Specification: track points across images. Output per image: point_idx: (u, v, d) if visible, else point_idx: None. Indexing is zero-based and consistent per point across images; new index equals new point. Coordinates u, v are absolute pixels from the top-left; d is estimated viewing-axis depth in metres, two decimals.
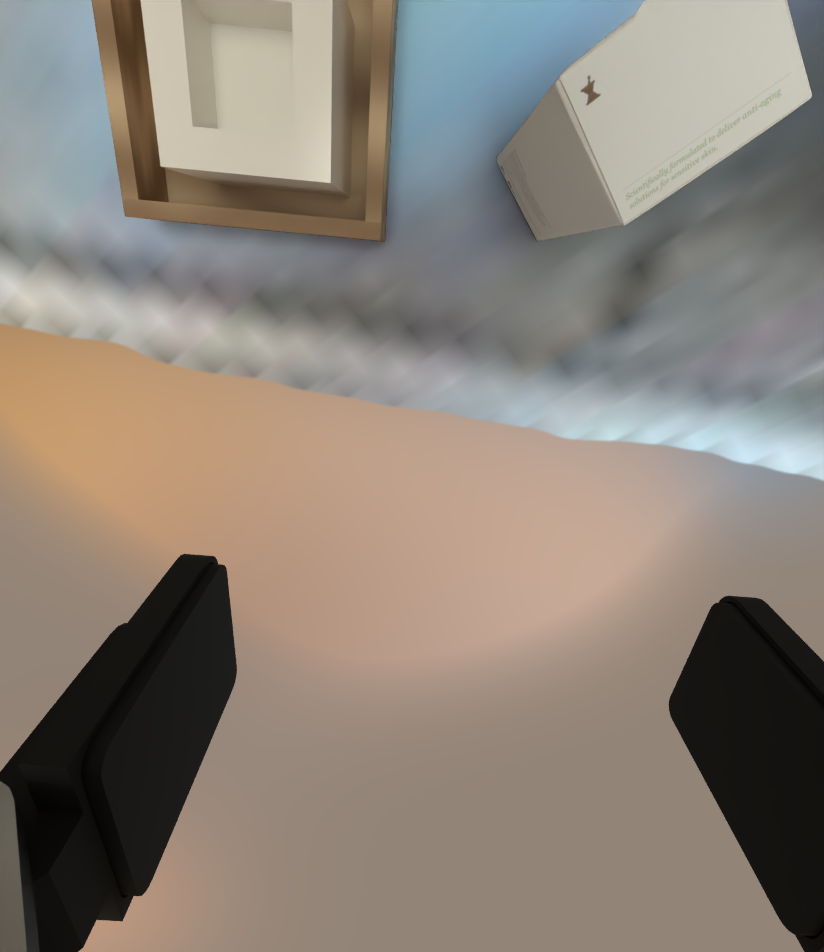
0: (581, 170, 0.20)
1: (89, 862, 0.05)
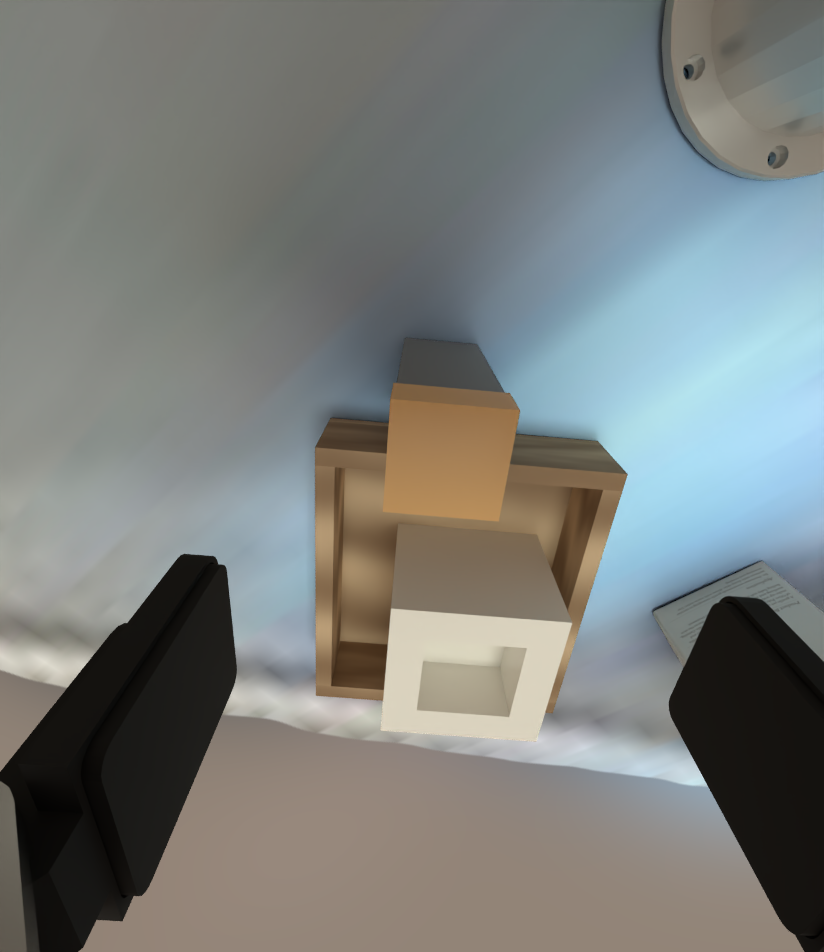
0: None
1: (89, 862, 0.05)
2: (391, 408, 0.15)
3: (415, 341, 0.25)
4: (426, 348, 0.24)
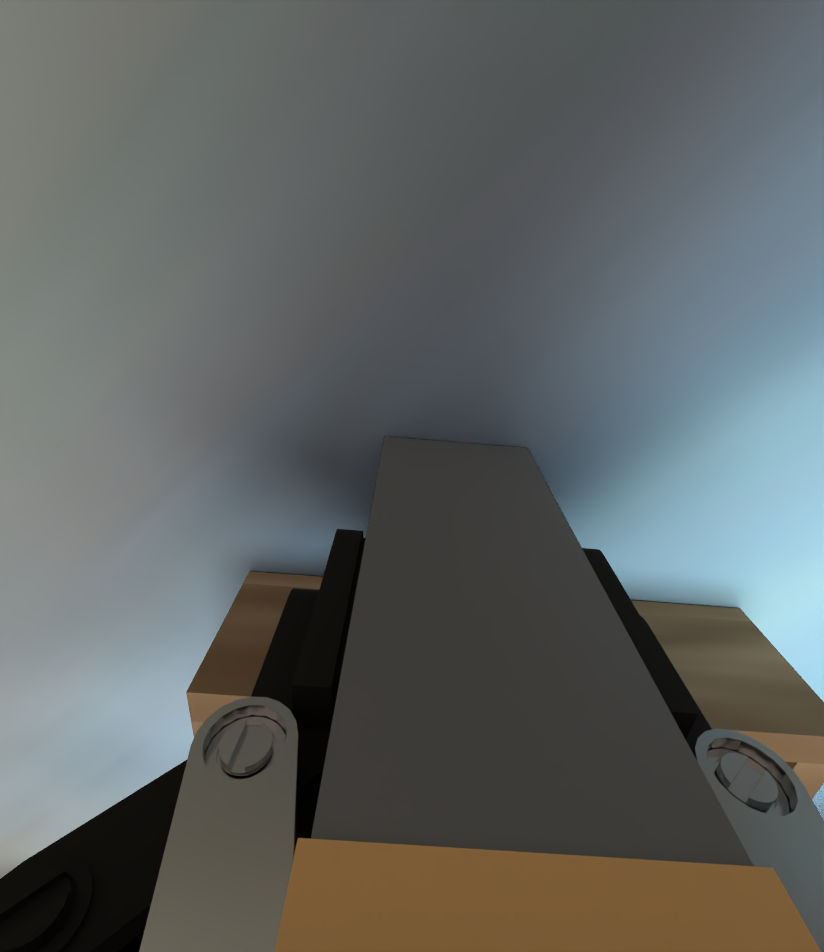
0: None
1: None
2: None
3: (405, 450, 0.12)
4: (428, 479, 0.11)
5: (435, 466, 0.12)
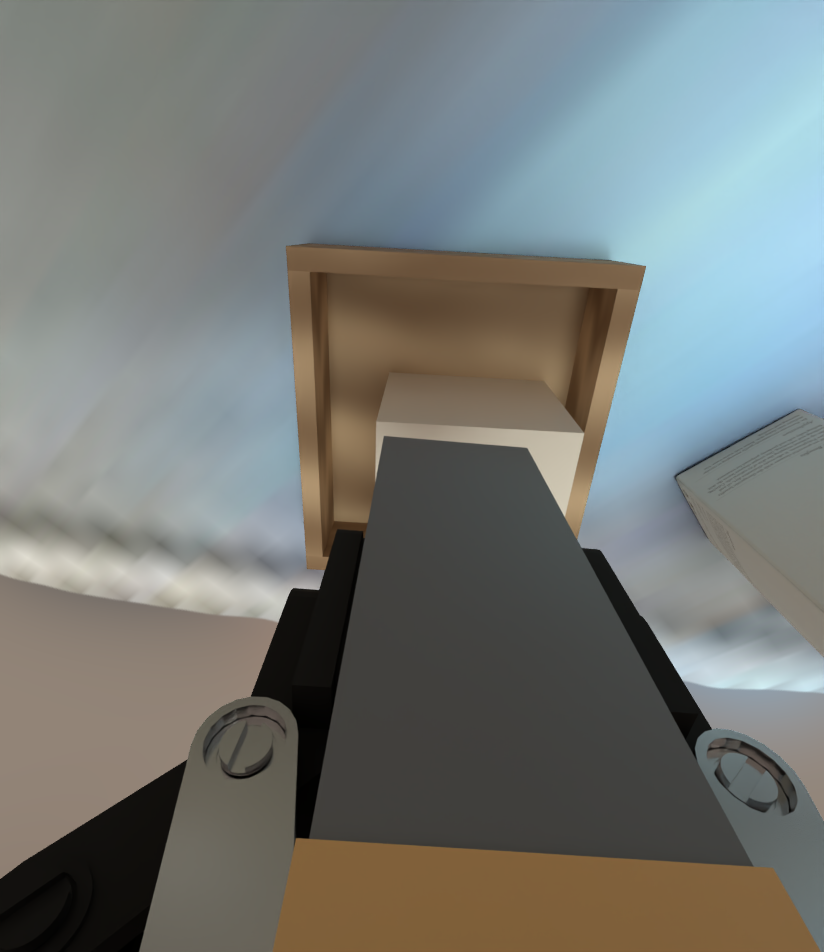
0: None
1: None
2: None
3: (404, 450, 0.12)
4: (427, 479, 0.11)
5: (434, 466, 0.12)
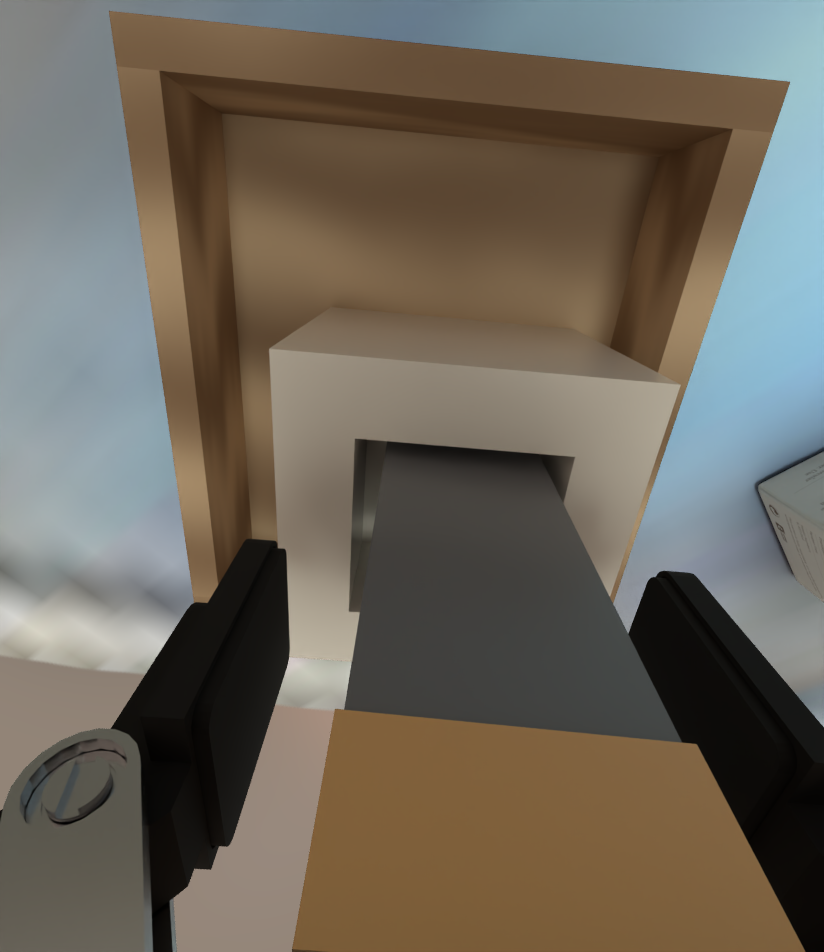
0: None
1: (193, 809, 0.06)
2: None
3: None
4: (433, 448, 0.12)
5: None
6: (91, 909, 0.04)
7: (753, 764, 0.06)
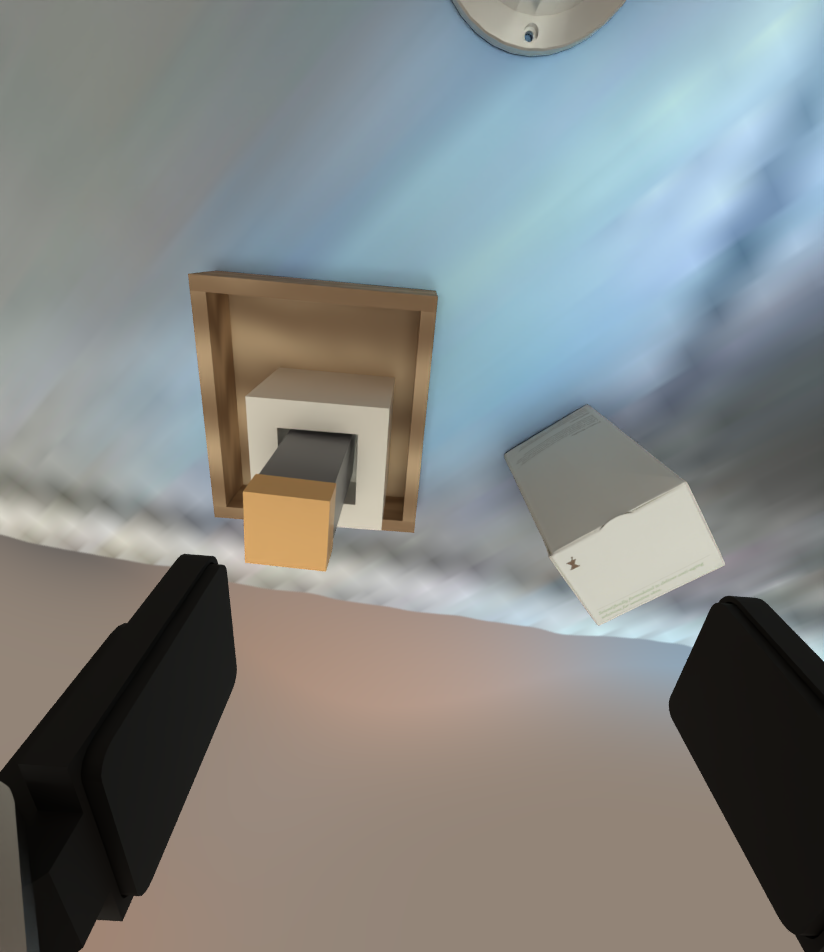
0: None
1: (89, 862, 0.05)
2: (244, 497, 0.23)
3: None
4: None
5: None
6: None
7: None
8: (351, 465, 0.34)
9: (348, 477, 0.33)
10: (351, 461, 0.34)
